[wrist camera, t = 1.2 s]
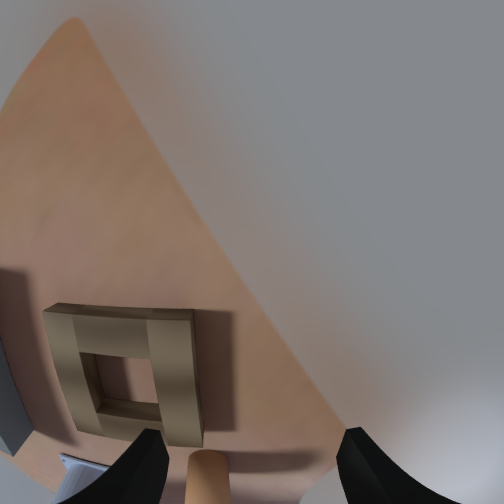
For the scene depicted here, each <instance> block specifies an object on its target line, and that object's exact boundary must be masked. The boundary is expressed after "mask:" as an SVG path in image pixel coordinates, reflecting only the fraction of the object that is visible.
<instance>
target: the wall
mask: <svg viewBox="0 0 504 504" xmlns="http://www.w3.org/2000/svg"><path fill="white" fill-rule="evenodd" d="M33 430H34V428H33V426H32V424H31V422H30V419H29V417H28V415H27V413H26V411H25V408H24V406H23V404H22V401H21V399H20V397H19V394H18V392H17V389H16V386H15V384H14V381H13V378H12V375H11V373H10V370H9V367H8V363H7V360H6V357H5V354H4V350H3V347H2V343H1V339H0V450H1V451H3V452H5V453H7V454H9V455H11V456H13V457H14V455H15V454H16V453H17V451H18V450H19V449H20V447H21V446H22V445H23V443H24V442H25V441H26V439H27V438H28V437H29V435H30V434H31V433H32V431H33Z"/></svg>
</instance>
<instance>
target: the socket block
mask: <svg viewBox="0 0 504 504" xmlns="http://www.w3.org/2000/svg"><path fill="white" fill-rule="evenodd" d="M42 312H43V318H44V323H45V328H46V333H47V338H48V342H49V346H50V350H51V354H52V358H53V362H54V365H55V369H56V372H57V376H58V379H59V382H60V385H61V388H62V391H63V394H64V397H65V400H66V403H67V405H68V408H69V411H70V413H71V416H72V418H73V421H74V423H75V426H76V428H77V430H78V431H81V432H85V433H89V434H94V435H98V436H103V437H108V438H113V439H119V440H125V441H131V442H134V441H135V439H136V438H137V437H138V436H139V434H140V433H141V432H142V431H143V430H144V429H145V428H149V429H155V430H160V432H161V435H162V438H163V441H164V444H165V446H178V447H199V448H203V437H204V426H203V418H202V409H201V400H200V390H199V380H198V368H197V356H196V342H195V326H194V309H159V308H130V307H109V306H93V305H79V304H66V303H56V304H54V305H53V306H51V307H49V308H47V309H45V310H43V311H42ZM94 354H101V355H110V356H120V357H131V358H143V359H151V363H152V369H153V375H154V381H155V387H156V393H157V398H158V403H159V404H154V403H143V402H134V401H126V400H118V399H111V398H105V395H104V392H103V388H102V385H101V381H100V377H99V373H98V369H97V364H96V360H95V355H94Z"/></svg>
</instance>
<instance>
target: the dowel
mask: <svg viewBox="0 0 504 504" xmlns="http://www.w3.org/2000/svg"><path fill="white" fill-rule="evenodd" d="M185 504H231V497H230V484H229V469H228V459H227V458H226V456H225V455H223V454H222V453H220V452H217V451H214V450H199V451H196V452H194V453H192V454H191V455H190V456H189V460H188V471H187V482H186V494H185Z"/></svg>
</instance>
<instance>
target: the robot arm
mask: <svg viewBox="0 0 504 504" xmlns="http://www.w3.org/2000/svg"><path fill="white" fill-rule="evenodd" d="M59 457H60V459H61V461H62V463H63V464H64V466H65V468H66V469H67V473H66V475H65V477H64V478H63V480H62V482H61V484H60V486H59V488H58V490H57V493H56V495H55V497H54V499H53V501H52V503H51V504H159V502H160V498H161V495H162V492H163V488H164V485H165V482H166V478H167V472H168V465H169V455H168V452H167V449H166V447H165V444H164V441H163V438H162V435H161V432H160V430H155V429H149V428H145V429H144V430H143V431H142V432H141V433H140V434H139V436H138V437H137V438H136V439H135V441H134V442H133V443H132V444H131V445H130V446H129V448H128V449H127V450H126V451H125V452H124V453H123V454H122V455H121V456H120V457H119V458H118V459H117V460H116V462H115V463H114V464H113V465H112V466H111V467H107V466H103V465H99V464H95V463H91V462H87V461H83V460H80V459H76V458H73V457H70V456H67V455H64V454H60V455H59ZM336 459H337V465H338V471H339V476H340V480H341V483H342V486H343V489H344V492H345V495H346V498H347V501H348V504H460V503H457V502H455V501H452V500H450V499H448V498H446V497H444V496H441V495H439V494H437V493H435V492H434V491H432V490H430V489H429V488H427V487H425V486H424V485H422V484H421V483H419V482H418V481H416V480H415V479H414V478H412V477H411V476H410V475H408V474H407V473H406V472H404V470H402V469H401V468H400V467H399V466H398V465H397V464H396V463H394V462H393V461H392V460H391V459H390V458H389V457H388V456H387V455H386V454H385V453H384V452H383V451H382V450H381V449H380V448H379V447H378V445H376V443H374V441H373V440H372V439H371V438H370V437H369V436H368V434H367V433H366V432H365V431H364V430H363V429H362V428H361V427H357V428H351V429H346V431H345V434H344V437H343V440H342V443H341V445H340V448H339V451H338V453H337V456H336Z"/></svg>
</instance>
